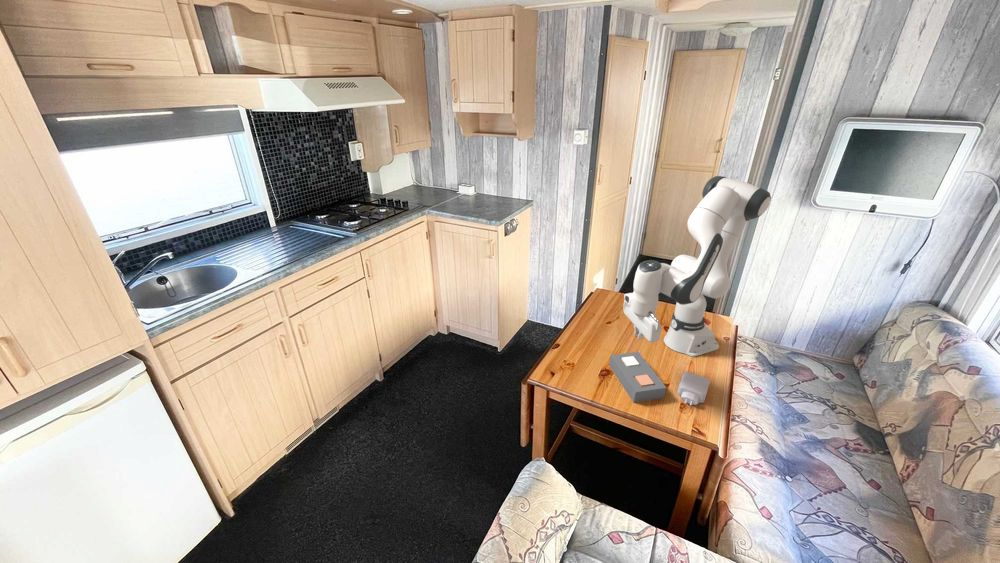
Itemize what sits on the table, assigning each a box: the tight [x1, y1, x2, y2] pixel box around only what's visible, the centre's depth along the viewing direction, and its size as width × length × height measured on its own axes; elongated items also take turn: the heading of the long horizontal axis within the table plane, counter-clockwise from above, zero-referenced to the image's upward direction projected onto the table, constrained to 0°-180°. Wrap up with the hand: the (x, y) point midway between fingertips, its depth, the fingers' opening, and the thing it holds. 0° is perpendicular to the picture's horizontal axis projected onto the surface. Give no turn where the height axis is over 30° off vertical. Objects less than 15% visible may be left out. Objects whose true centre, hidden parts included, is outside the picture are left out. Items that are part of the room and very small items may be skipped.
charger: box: [676, 371, 711, 407], centre depth 146 cm, size 5×9×15 cm
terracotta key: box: [635, 374, 654, 387], centre depth 148 cm, size 5×5×3 cm
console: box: [608, 351, 667, 403], centre depth 153 cm, size 12×21×5 cm, turn 11°
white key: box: [621, 356, 639, 367], centre depth 158 cm, size 5×5×3 cm
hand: (638, 336), depth 147 cm, fingers closed
